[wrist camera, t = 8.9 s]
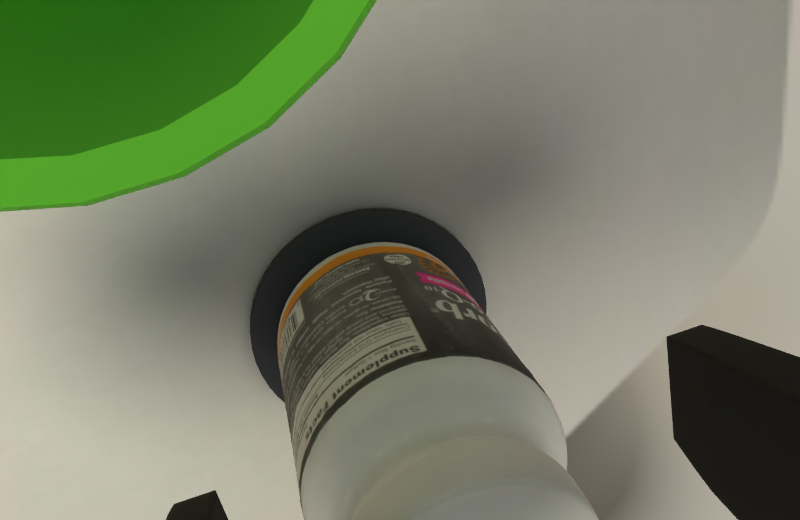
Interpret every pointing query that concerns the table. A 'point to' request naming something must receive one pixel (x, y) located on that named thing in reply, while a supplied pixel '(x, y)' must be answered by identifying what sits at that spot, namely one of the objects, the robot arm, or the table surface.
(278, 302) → the coaster
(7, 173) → the cup
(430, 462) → the pill bottle
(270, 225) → the table surface
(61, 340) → the table surface
